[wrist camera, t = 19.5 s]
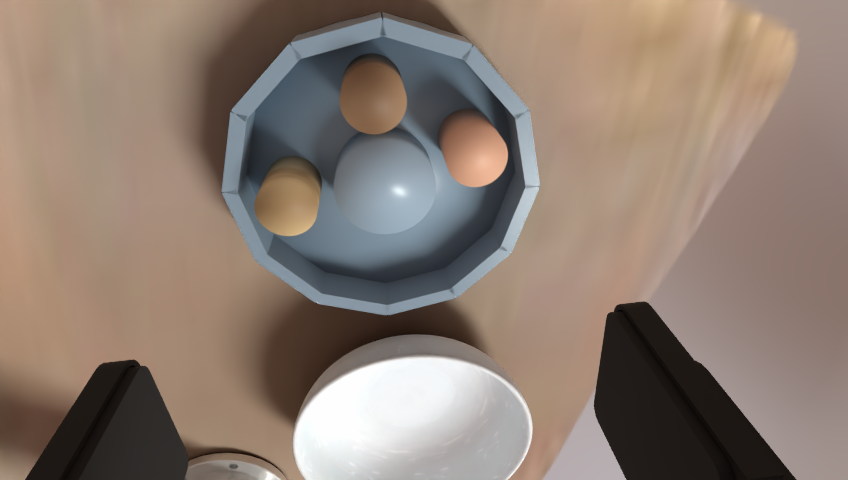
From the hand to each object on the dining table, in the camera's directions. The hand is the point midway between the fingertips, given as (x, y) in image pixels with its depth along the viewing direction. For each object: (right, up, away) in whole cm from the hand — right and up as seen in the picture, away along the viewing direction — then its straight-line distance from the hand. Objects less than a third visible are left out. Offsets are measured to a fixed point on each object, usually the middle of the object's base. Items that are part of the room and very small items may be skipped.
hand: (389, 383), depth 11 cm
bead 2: (-3, +13, +24) cm, 27 cm away
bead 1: (-9, +7, +27) cm, 29 cm away
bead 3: (+4, +10, +26) cm, 28 cm away
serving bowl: (-1, -12, +40) cm, 41 cm away
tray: (-2, +8, +28) cm, 29 cm away
